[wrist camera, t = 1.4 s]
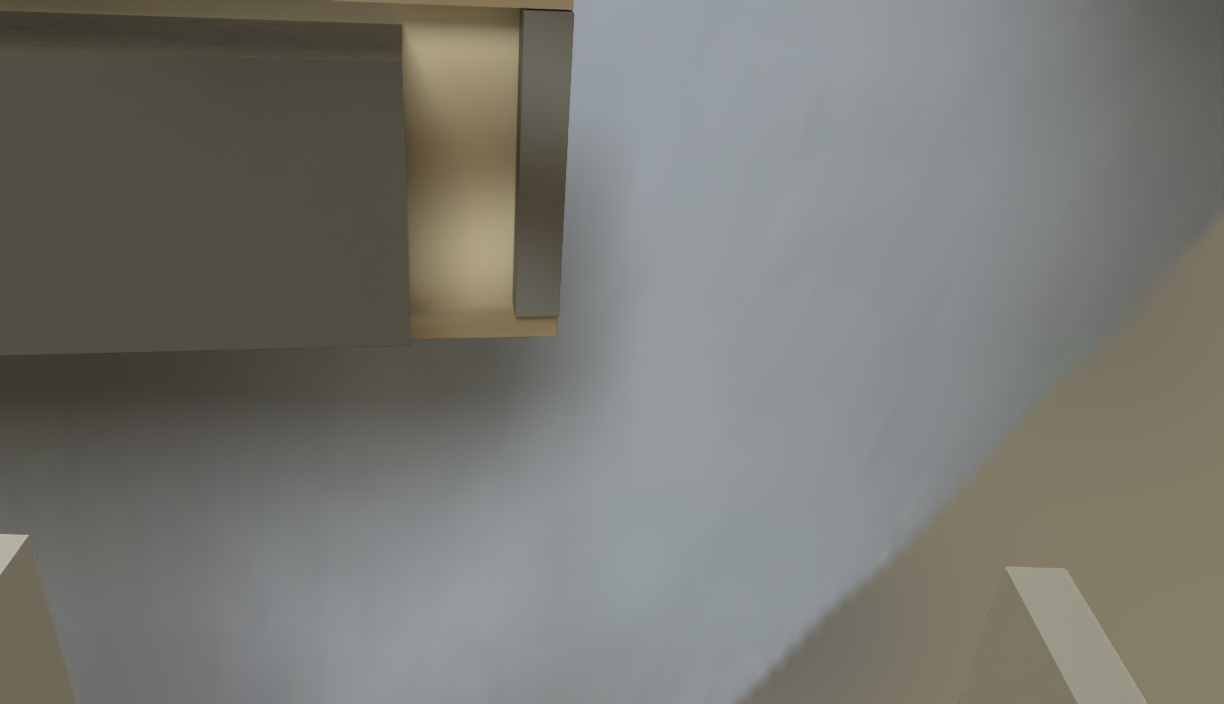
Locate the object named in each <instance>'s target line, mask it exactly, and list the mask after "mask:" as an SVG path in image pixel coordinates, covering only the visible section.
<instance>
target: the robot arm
mask: <svg viewBox="0 0 1224 704" xmlns="http://www.w3.org/2000/svg"><path fill="white" fill-rule="evenodd" d="M75 701H76V697H75V694H74V690H73V687H72V683H71V680H70V676H69V673H68V669H67V666H66V662H65V659H64V655H63V652H62V648H61V645H60V641H59V638H58V634H57V631H56V628H55V624H54V621H53V617H52V614H51V610H50V607H49V603H48V600H47V596H46V593H45V589H44V586H43V582H42V579H41V575H40V572H39V568H38V565H37V561H36V558H35V555H34V551H33V548H32V544H31V541H30V537H29V535H12V534H0V704H74V703H75ZM958 704H1147V702H1146V700H1145V699H1144V697H1143V695H1142V694H1141V692H1140V690H1139V689H1138V687H1137V686H1136V684H1135V682H1134V681H1133V679H1132V677H1131V676H1130V674H1129V673H1128V671H1127V669H1126V667H1125V666H1124V664H1123V663H1122V661H1121V659H1120V658H1119V656H1118V654H1117V652H1116V651H1115V649H1114V648H1113V646H1112V644H1111V643H1110V641H1109V639H1108V638H1107V636H1106V634H1105V633H1104V631H1103V630H1102V628H1101V626H1100V624H1099V623H1098V621H1097V620H1096V618H1095V616H1094V614H1093V613H1092V611H1091V609H1090V608H1089V606H1088V605H1087V603H1086V601H1085V600H1084V598H1083V596H1082V595H1081V593H1080V591H1079V590H1078V588H1077V586H1076V585H1075V583H1074V581H1073V580H1072V578H1071V577H1070V575H1069V573H1068V571H1067V570H1066V568H1038V567H1007V566H1006V567H1004V570H1003V573H1002V576H1001V579H1000V582H999V585H998V588H997V591H996V594H995V596H994V599H993V603H992V605H991V608H990V611H989V614H988V617H987V620H986V623H985V625H984V628H983V631H982V634H981V637H980V640H979V643H978V646H977V649H976V652H975V655H974V658H973V661H972V663H971V666H970V669H969V672H968V675H967V678H966V681H965V684H964V686H963V690H962V692H961V695H960V698H959V701H958Z"/></svg>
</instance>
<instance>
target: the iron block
mask: <svg viewBox="0 0 1224 704" xmlns="http://www.w3.org/2000/svg"><path fill="white" fill-rule="evenodd" d="M370 346H411V297H410V256H409V223H408V191H407V158H406V126H405V93H404V61H403V28H402V24H378V23H349V22H319V21H290V20H260V19H231V18H201V17H172V16H142V15H113V14H83V13H54V12H24V11H0V356H3V355H44V354H84V353H125V352H166V351H207V350H248V349H289V348H329V347H370Z"/></svg>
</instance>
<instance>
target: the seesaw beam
mask: <svg viewBox="0 0 1224 704" xmlns="http://www.w3.org/2000/svg"><path fill="white" fill-rule="evenodd" d="M573 2H574V0H0V11H24V12H54V13H83V14H113V15H142V16H172V17H201V18H231V19H260V20H290V21H319V22H349V23H378V24H402V28H403V61H404V93H405V126H406V158H407V191H408V223H409V256H410V297H411V339H447V338H490V337H533V336H556V335H557V316H559V298H560V278H561V259H562V240H563V220H564V201H565V182H566V162H567V143H568V124H569V104H570V85H571V66H572V46H573V27H574V13H573V11H572V10H573Z"/></svg>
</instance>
